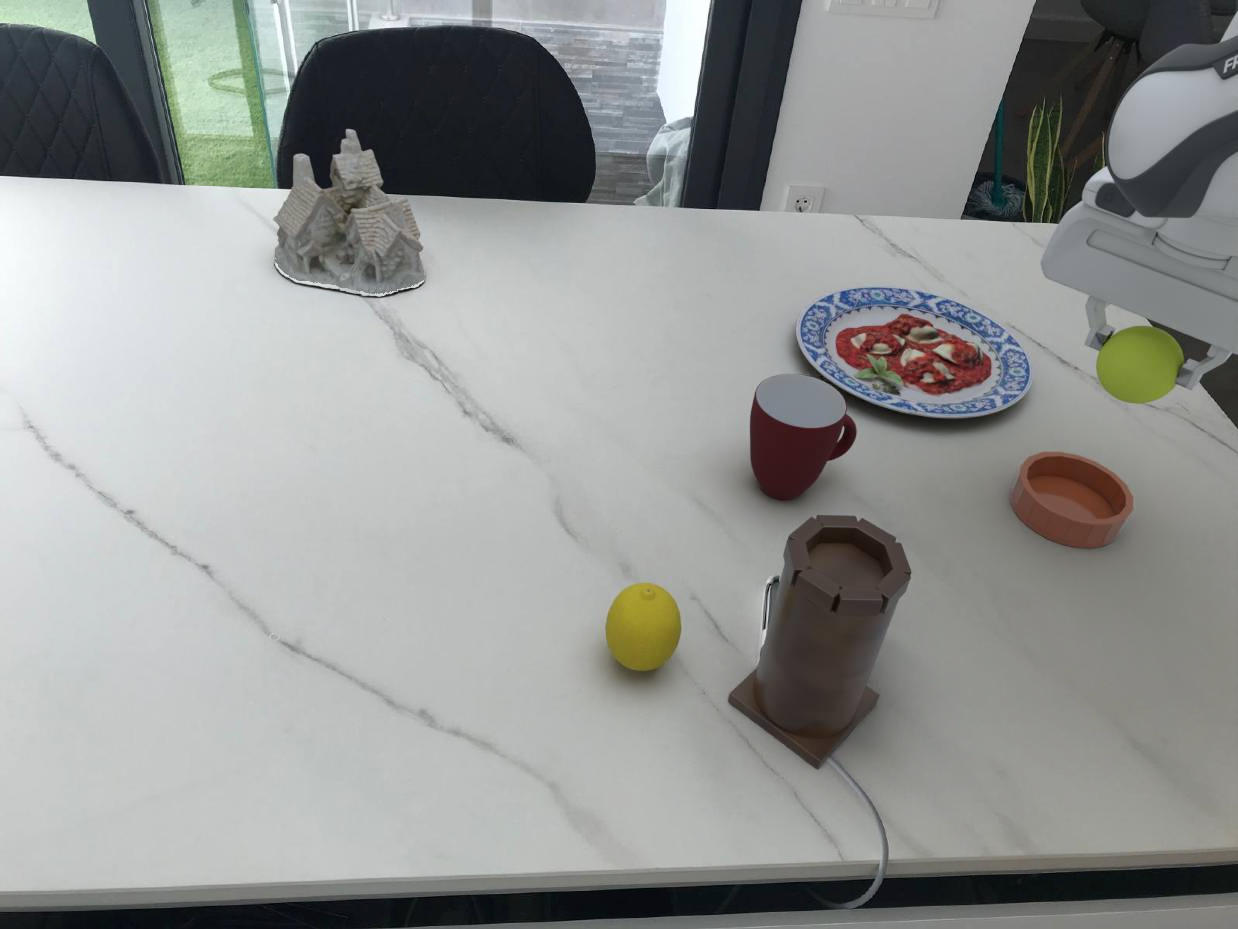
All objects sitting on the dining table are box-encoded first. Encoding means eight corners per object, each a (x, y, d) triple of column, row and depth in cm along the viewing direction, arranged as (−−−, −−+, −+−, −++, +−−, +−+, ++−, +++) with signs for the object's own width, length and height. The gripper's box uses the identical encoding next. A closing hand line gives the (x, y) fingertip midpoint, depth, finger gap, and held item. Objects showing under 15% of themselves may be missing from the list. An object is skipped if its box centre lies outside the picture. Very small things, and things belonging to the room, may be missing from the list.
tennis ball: (1174, 398, 83) (1209, 333, 79) (1148, 428, 79) (1182, 362, 75) (1101, 366, 86) (1130, 302, 82) (1072, 394, 82) (1101, 329, 78)
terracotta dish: (1136, 511, 92) (1150, 488, 90) (1095, 565, 86) (1108, 541, 84) (1036, 461, 97) (1047, 437, 95) (990, 508, 91) (1001, 484, 89)
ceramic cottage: (265, 246, 118) (251, 127, 108) (398, 231, 125) (396, 117, 115) (296, 318, 108) (284, 194, 98) (439, 297, 115) (441, 179, 105)
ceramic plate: (904, 282, 123) (910, 261, 121) (1075, 390, 107) (1086, 367, 105) (746, 333, 111) (750, 311, 109) (911, 462, 95) (920, 438, 93)
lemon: (678, 691, 72) (691, 620, 67) (604, 692, 72) (611, 620, 67) (670, 633, 77) (682, 562, 71) (600, 634, 76) (606, 562, 71)
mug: (812, 444, 96) (834, 360, 90) (862, 495, 91) (889, 410, 84) (721, 470, 92) (737, 384, 86) (767, 525, 87) (788, 437, 80)
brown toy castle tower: (877, 703, 73) (934, 557, 63) (817, 769, 68) (869, 623, 58) (789, 642, 77) (830, 496, 67) (727, 701, 72) (761, 553, 62)
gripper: (1382, 246, 69) (1283, 405, 77) (1098, 154, 79) (1039, 304, 87) (1361, 275, 65) (1260, 438, 74) (1067, 174, 75) (1008, 328, 84)
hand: (1138, 364), depth 81 cm, fingers closed on tennis ball, 6 cm apart
